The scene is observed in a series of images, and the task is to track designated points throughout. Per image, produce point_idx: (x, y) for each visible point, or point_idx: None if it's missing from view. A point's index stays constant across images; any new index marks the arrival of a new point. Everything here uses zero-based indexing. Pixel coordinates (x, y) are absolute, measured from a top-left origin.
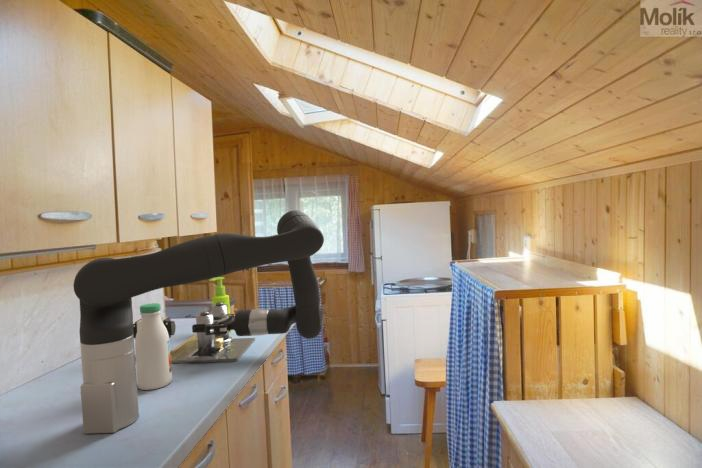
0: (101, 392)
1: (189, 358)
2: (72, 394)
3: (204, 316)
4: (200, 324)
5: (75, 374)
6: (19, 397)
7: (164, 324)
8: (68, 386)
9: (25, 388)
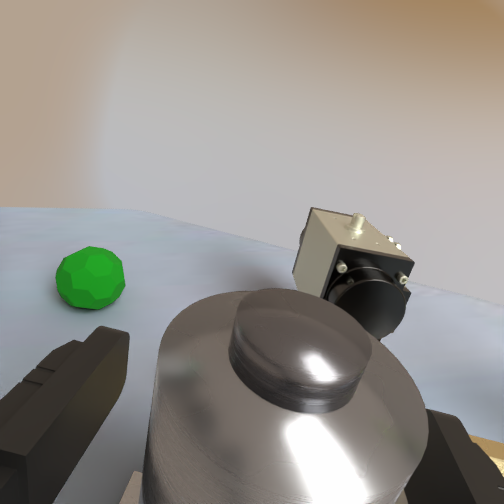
0: None
1: (124, 494)
2: (42, 247)
3: (169, 358)
4: (54, 385)
5: (192, 248)
6: (100, 214)
7: (332, 263)
8: (112, 243)
9: (148, 218)
